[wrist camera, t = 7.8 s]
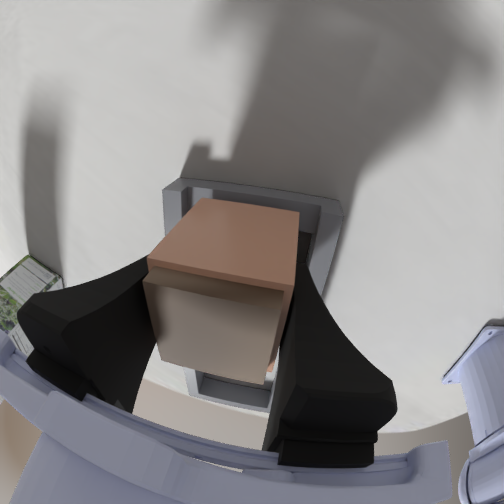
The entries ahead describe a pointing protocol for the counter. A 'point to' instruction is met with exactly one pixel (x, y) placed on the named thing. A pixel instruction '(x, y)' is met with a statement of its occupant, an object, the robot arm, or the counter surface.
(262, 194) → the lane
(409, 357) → the counter surface
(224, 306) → the tan cardboard cube box
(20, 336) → the syrup box
